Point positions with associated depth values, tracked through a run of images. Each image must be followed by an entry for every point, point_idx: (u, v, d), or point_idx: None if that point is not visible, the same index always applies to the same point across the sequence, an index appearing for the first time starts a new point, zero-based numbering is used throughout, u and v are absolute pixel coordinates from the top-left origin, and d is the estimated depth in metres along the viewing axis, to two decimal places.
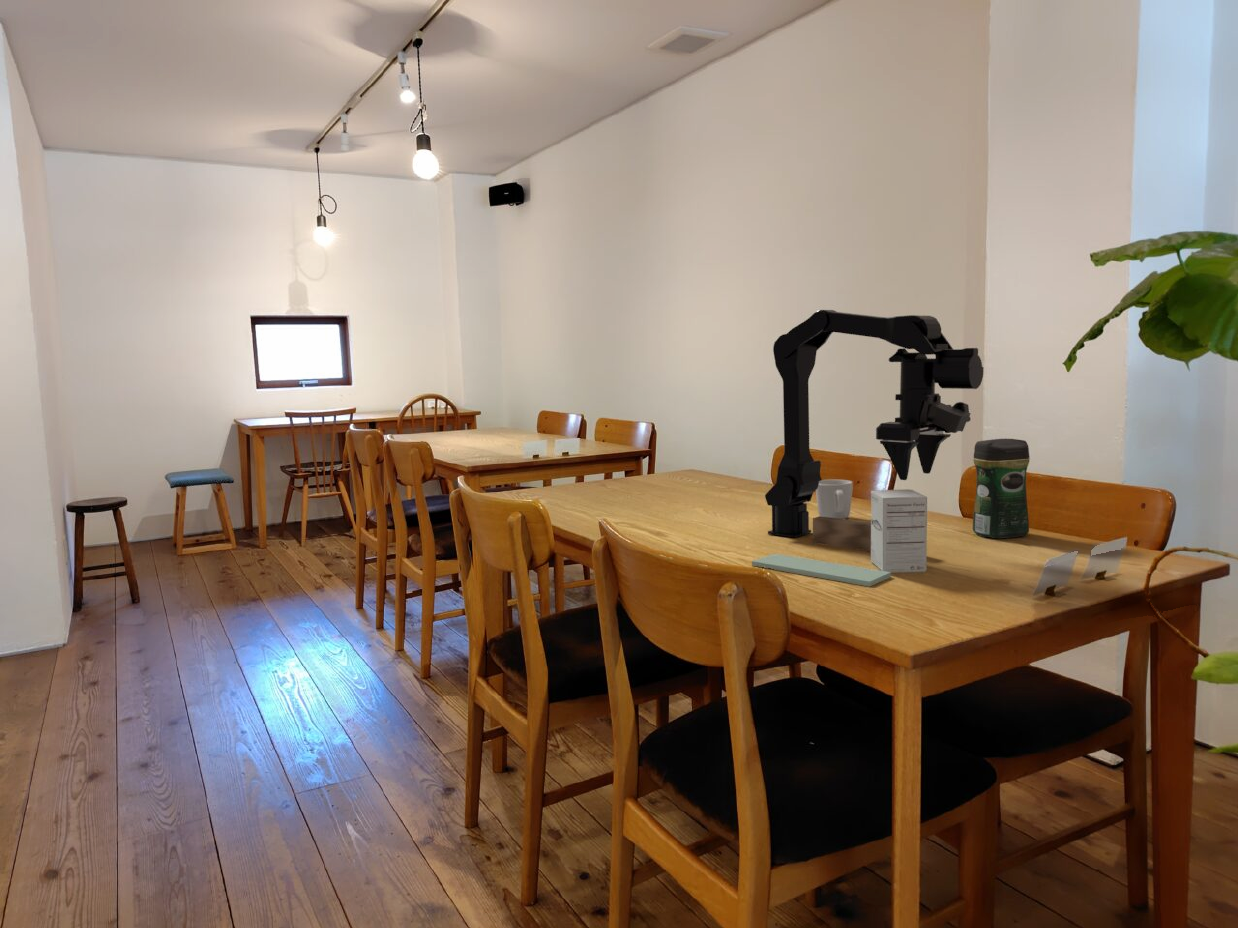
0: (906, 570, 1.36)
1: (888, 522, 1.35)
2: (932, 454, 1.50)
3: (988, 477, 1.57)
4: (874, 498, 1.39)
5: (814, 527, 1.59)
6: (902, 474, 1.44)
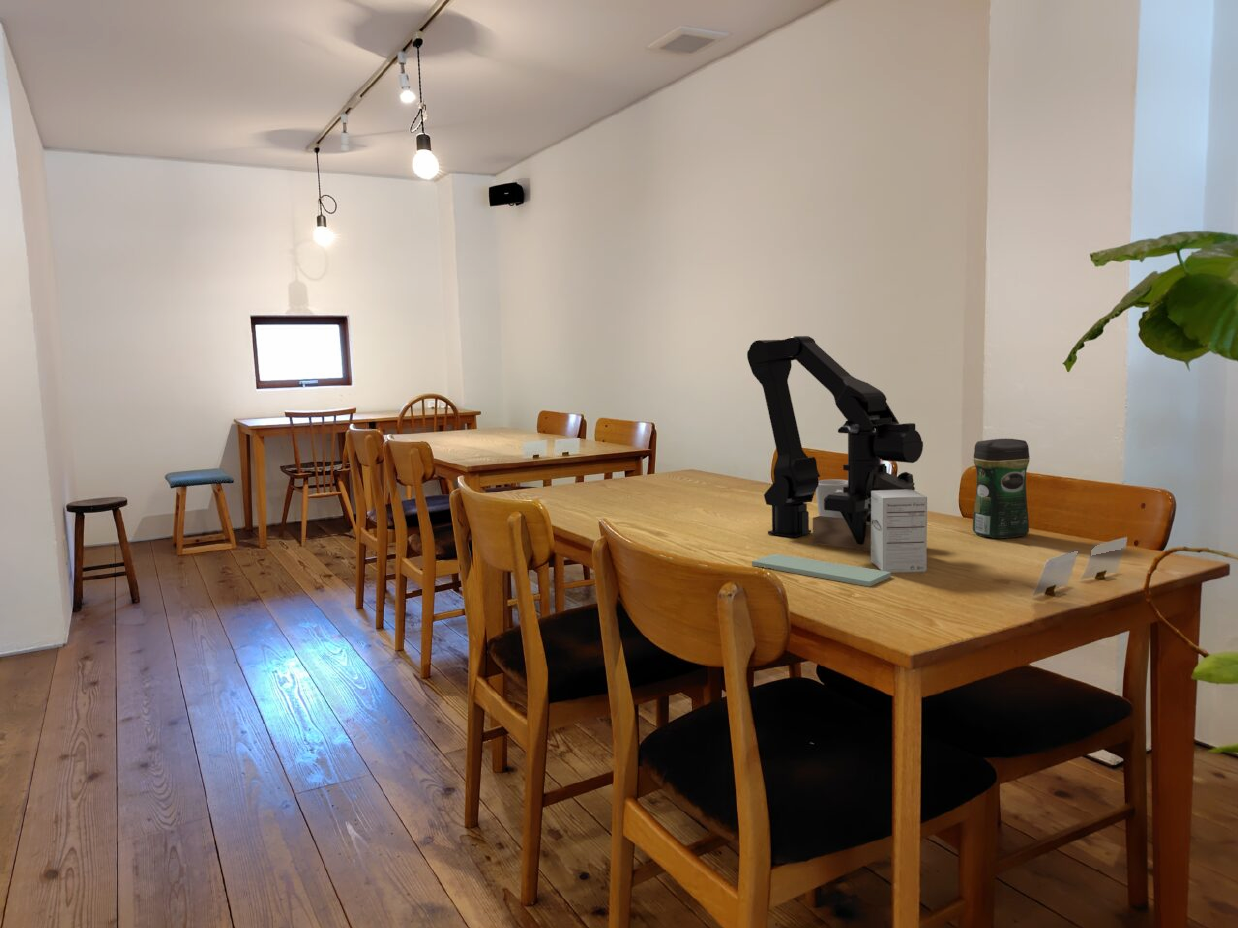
0: (906, 570, 1.36)
1: (888, 522, 1.35)
2: None
3: (988, 477, 1.57)
4: (874, 498, 1.39)
5: (814, 527, 1.59)
6: (859, 539, 1.52)
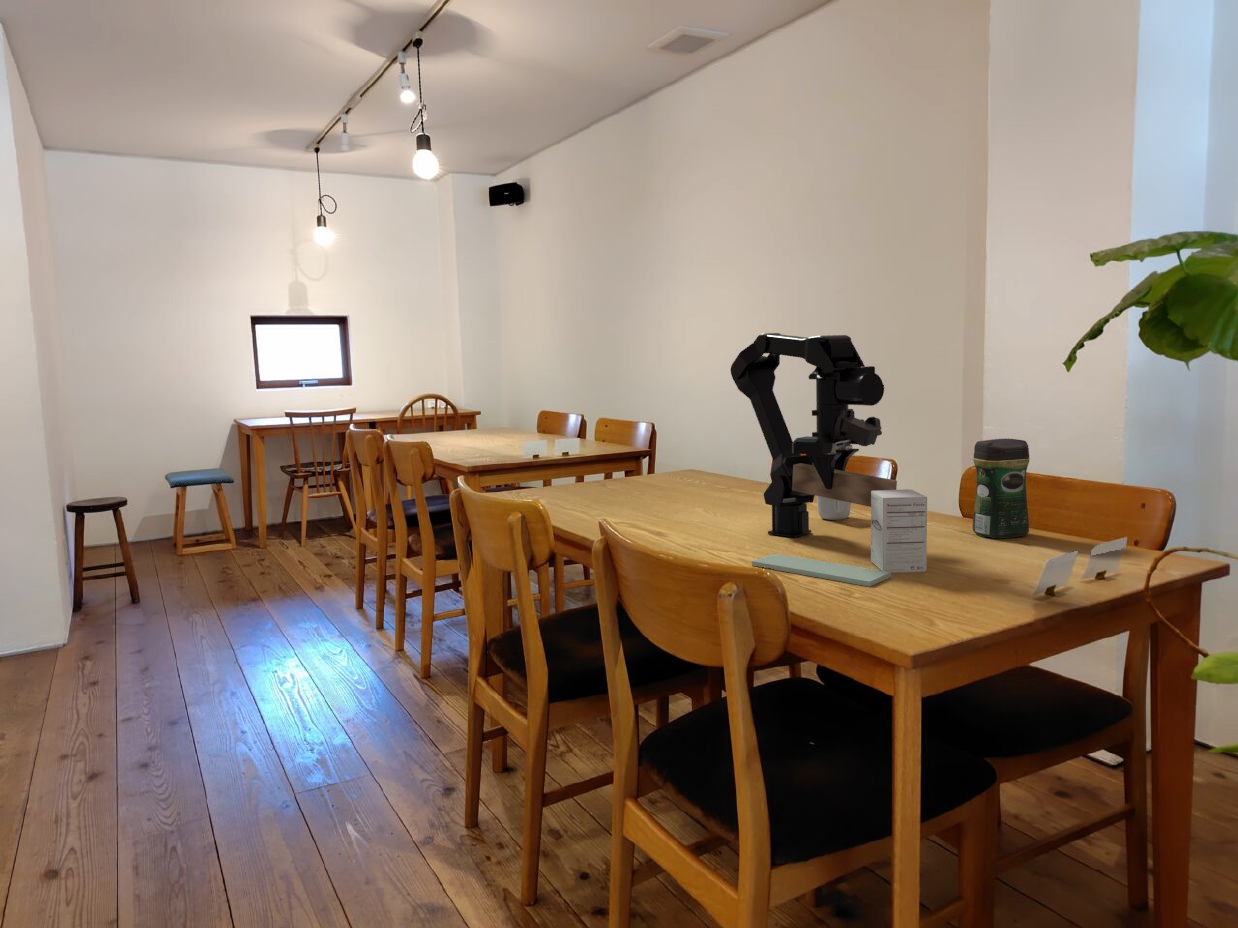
0: (906, 570, 1.36)
1: (888, 522, 1.35)
2: (841, 468, 1.56)
3: (988, 477, 1.57)
4: (874, 498, 1.39)
5: (794, 474, 1.60)
6: (827, 483, 1.54)
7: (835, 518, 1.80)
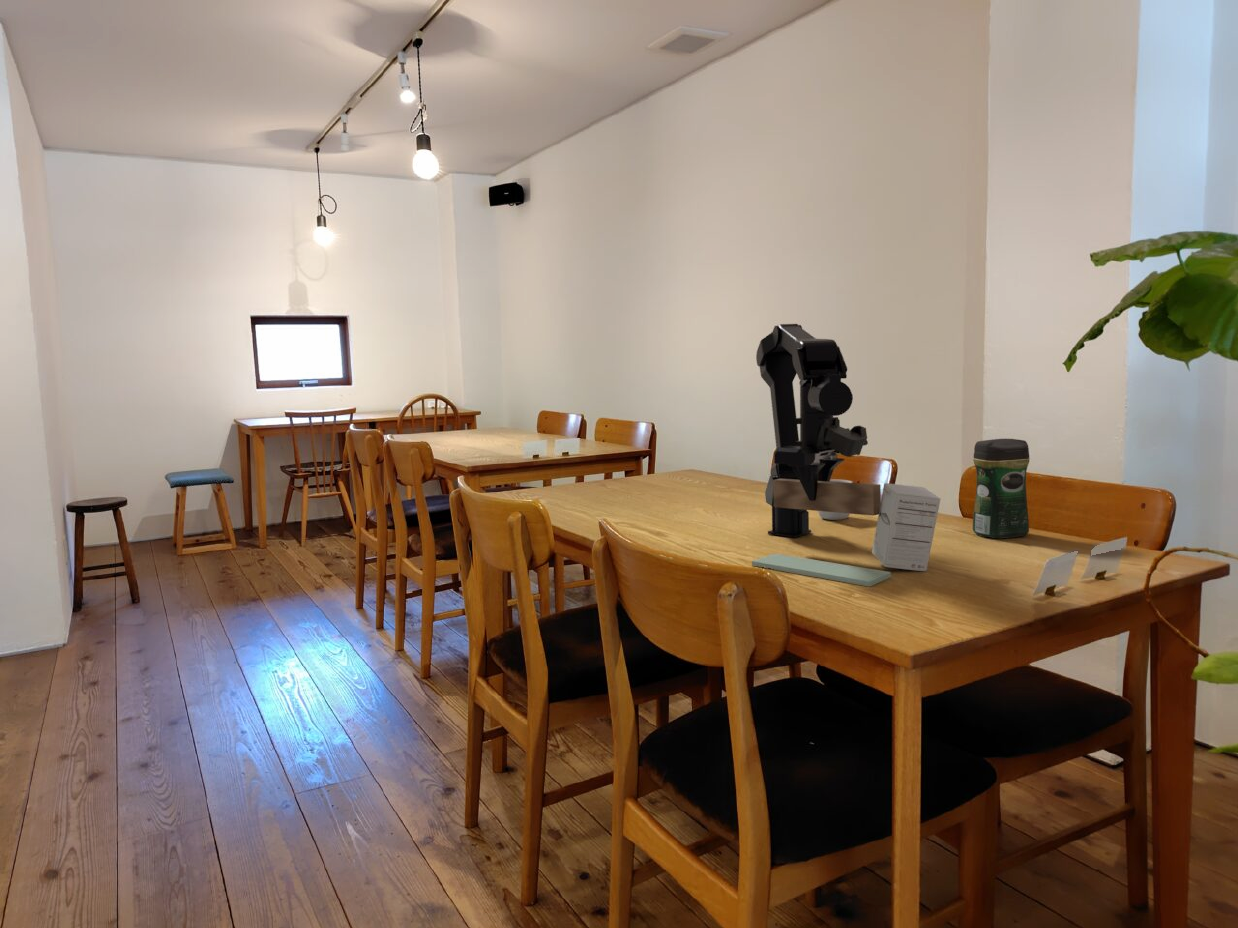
0: (907, 567, 1.36)
1: (898, 517, 1.34)
2: (826, 479, 1.49)
3: (988, 477, 1.57)
4: (886, 491, 1.38)
5: (774, 489, 1.54)
6: (811, 495, 1.48)
7: (835, 518, 1.80)
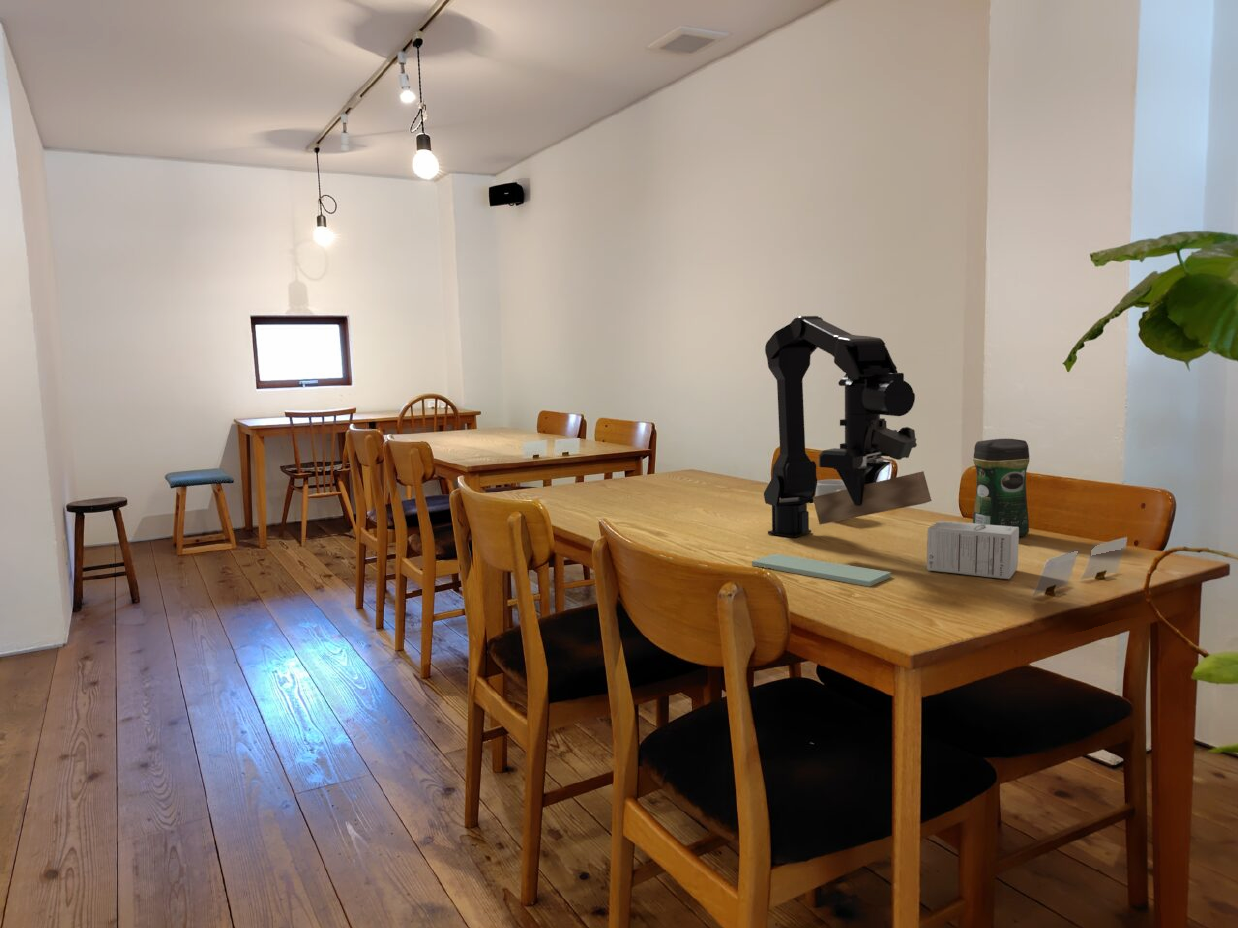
0: (929, 550, 1.36)
1: (983, 537, 1.31)
2: None
3: (988, 477, 1.57)
4: (1010, 528, 1.33)
5: (816, 506, 1.48)
6: (857, 499, 1.42)
7: None
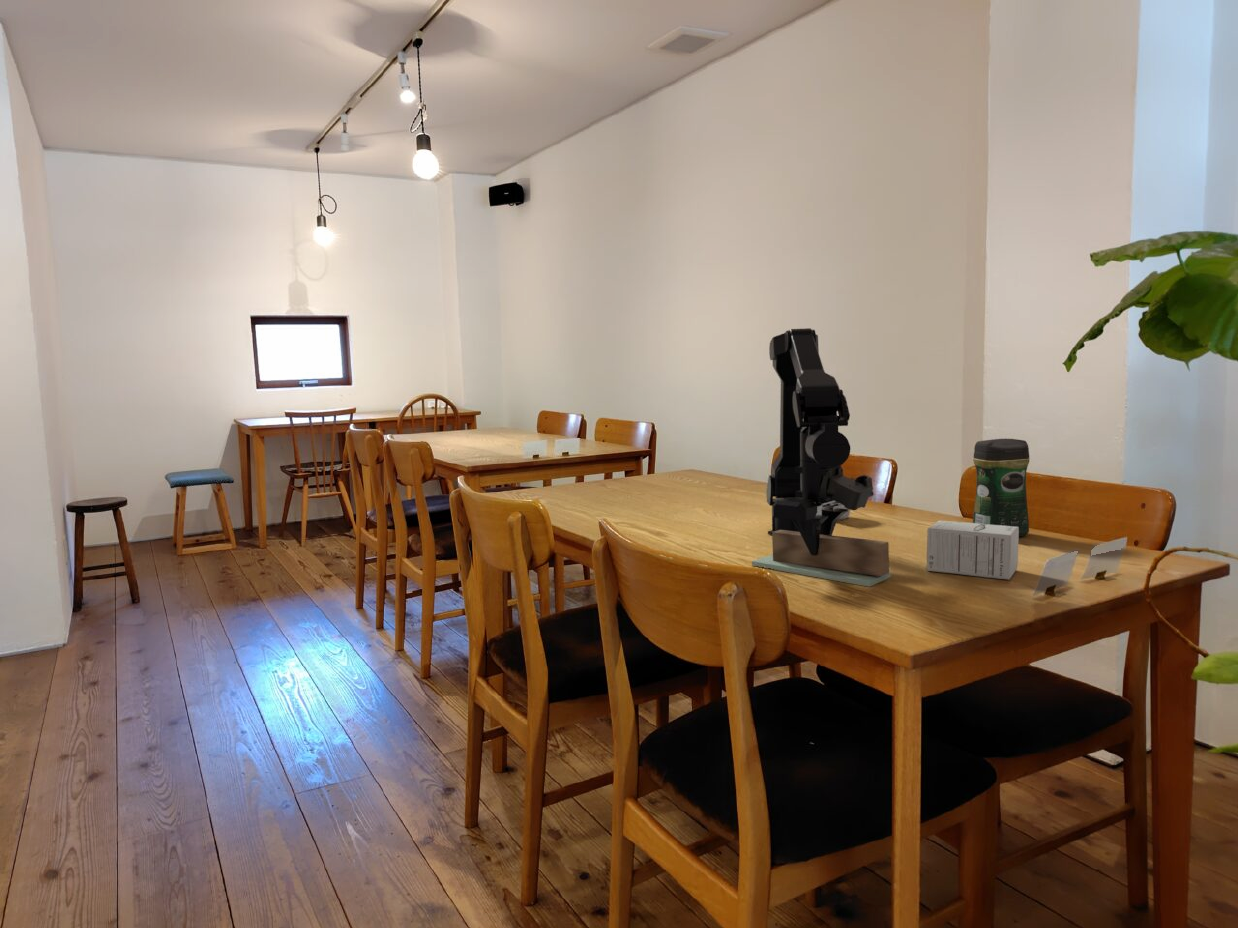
0: (928, 551, 1.36)
1: (983, 538, 1.31)
2: (828, 531, 1.39)
3: (988, 477, 1.57)
4: (1010, 528, 1.33)
5: (774, 542, 1.43)
6: (813, 549, 1.37)
7: None
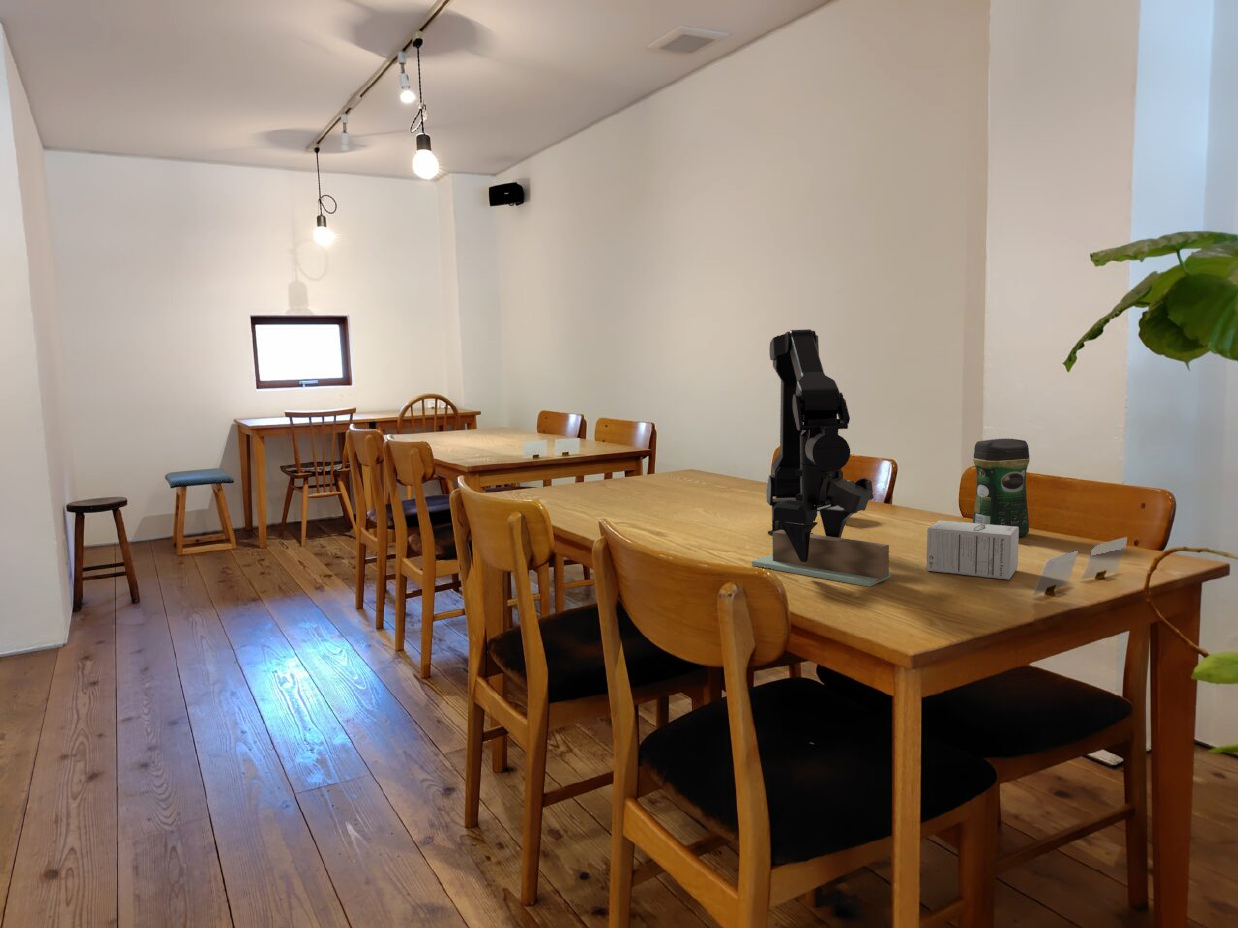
0: (928, 551, 1.36)
1: (983, 538, 1.31)
2: (838, 531, 1.41)
3: (988, 477, 1.57)
4: (1010, 528, 1.33)
5: (774, 542, 1.43)
6: (802, 555, 1.35)
7: None
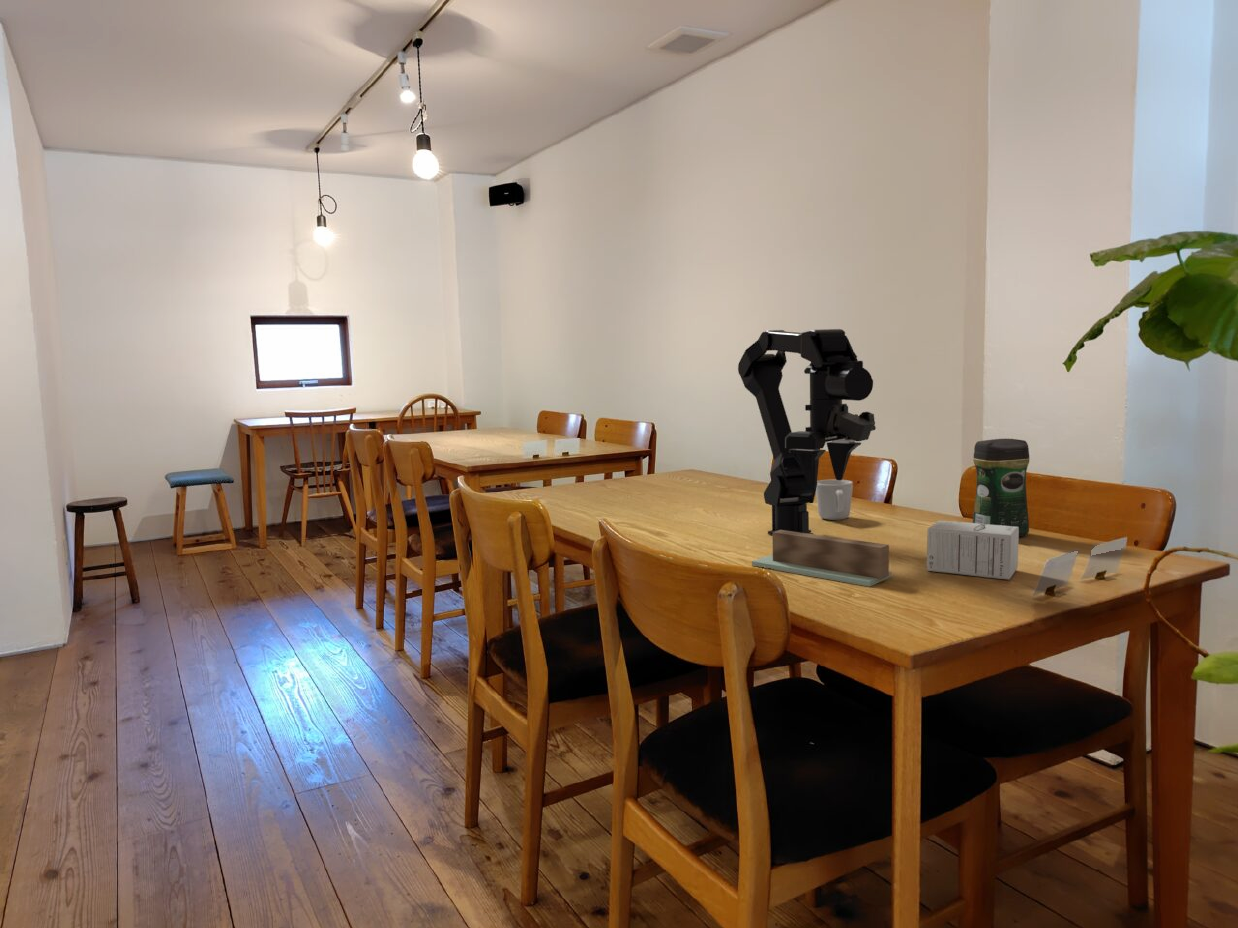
0: (928, 551, 1.36)
1: (983, 538, 1.31)
2: (843, 462, 1.57)
3: (988, 477, 1.57)
4: (1010, 528, 1.33)
5: (774, 542, 1.43)
6: (811, 481, 1.51)
7: (835, 518, 1.80)
